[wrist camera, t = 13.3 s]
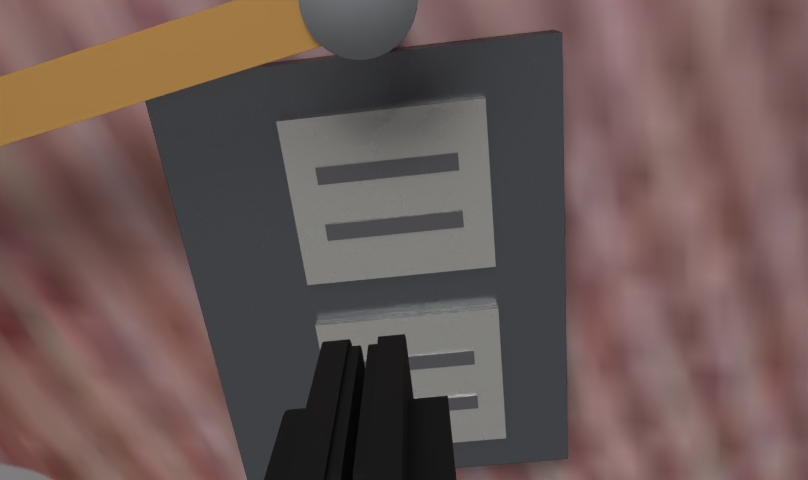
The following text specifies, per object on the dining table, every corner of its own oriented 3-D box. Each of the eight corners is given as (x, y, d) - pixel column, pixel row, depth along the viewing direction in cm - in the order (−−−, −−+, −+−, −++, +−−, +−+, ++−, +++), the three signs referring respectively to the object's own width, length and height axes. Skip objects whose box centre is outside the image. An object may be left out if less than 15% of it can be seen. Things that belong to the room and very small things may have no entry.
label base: (551, -55, 23) (572, -62, 20) (560, 437, 31) (576, 484, 28) (134, -4, 23) (94, -3, 20) (255, 463, 32) (239, 511, 29)
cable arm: (429, 36, 21) (431, 40, 19) (-185, 224, 23) (-237, 244, 21) (399, -79, 19) (398, -87, 17) (-247, 135, 22) (-308, 148, 20)
